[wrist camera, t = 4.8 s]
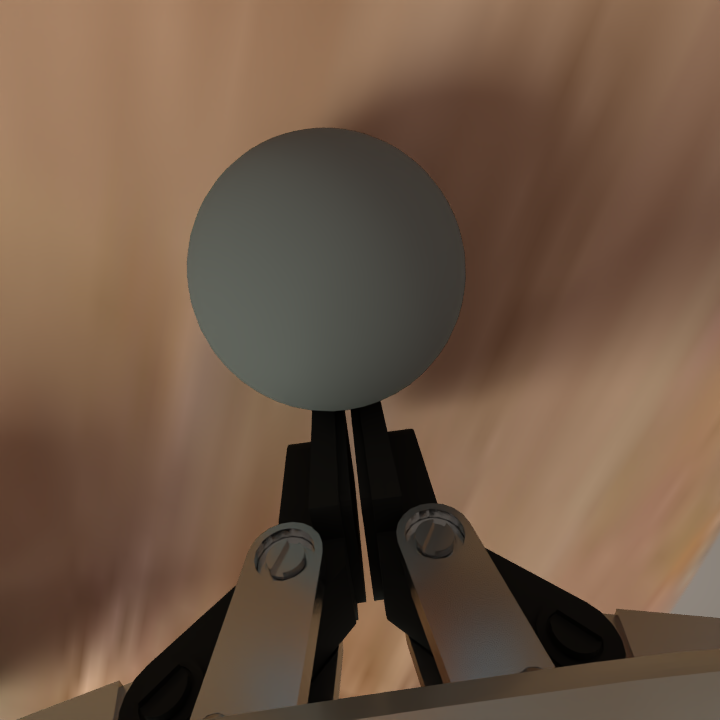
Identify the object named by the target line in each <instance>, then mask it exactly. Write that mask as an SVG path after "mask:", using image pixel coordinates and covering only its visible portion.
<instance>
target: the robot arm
mask: <svg viewBox="0 0 720 720" xmlns="http://www.w3.org/2000/svg"><path fill="white" fill-rule="evenodd" d="M351 418H352V427H353V437H354V446H355V455H356V464H357V474H358V483H359V492H360V500H361V508H362V516H363V523H364V530H365V538H366V545H367V552H368V559H369V567H370V574H371V581H372V588H373V596H374V601H376V600H383V599H384V603H385V611H386V616H387V619H388V620H389V621H390V622H392V623H393V624H394V625H396V626H397V627H398V628H399V629H401V630H402V631H403V632H405V635H406V641H407V645H408V648H409V651H410V654H411V657H412V660H413V663H414V667H415V670H416V673H417V676H418V679H419V682H420V685H421V687H418V688H411V689H404V690H398V691H391V692H384V693H377V694H370V695H364V696H357V697H350V698H343V699H339V691H340V681H341V670H342V660H343V639H344V638H345V637H346V636H347V634H348V633H349V632H350V631H351V629H352V628H353V627H354V626H355V624H356V620H358V608H357V603H362V602H366V592H365V582H364V572H363V561H362V551H361V541H360V531H359V520H358V510H357V500H356V489H355V480H354V472H353V465H352V458H351V451H350V444H349V437H348V430H347V423H346V416H345V410H340V411H317V410H312V430H311V442H307V443H299V444H292V445H288V447H287V454H286V462H285V471H284V480H283V489H282V498H281V506H280V515H279V524H278V525H277V526H274V527H272V528H270V529H268V530H267V531H265V532H264V533H262V534H261V535H260V536H259V537H258V538H257V539H256V540H255V541H254V542H253V544H252V546H251V548H250V549H249V551H248V553H247V556H246V559H245V562H244V565H243V568H242V571H241V573H240V576H239V579H238V582H237V585H236V586H235V587H234V588H233V589H231V590H230V591H229V592H228V593H227V594H226V595H225V596H224V597H223V598H221V599H220V600H219V601H218V602H217V603H216V604H215V605H214V606H213V607H212V608H210V609H209V610H208V611H207V612H206V613H205V614H204V615H203V616H202V617H200V618H199V619H198V620H197V621H196V622H195V623H194V624H193V625H192V626H191V627H189V628H188V629H187V630H186V631H185V632H184V633H183V634H182V635H181V636H180V637H178V638H177V639H176V640H175V641H174V642H173V643H172V644H171V645H170V646H168V647H167V648H166V649H165V650H164V651H163V652H162V653H161V654H160V655H159V656H157V657H156V658H155V659H154V660H153V661H152V662H151V663H150V664H149V665H147V666H146V668H145V669H144V670H143V671H142V672H141V673H140V674H139V675H138V676H137V677H136V679H135V680H134V681H133V682H131V683H129V684H126V685H124V686H123V685H122V684H121V682H120V681H117V682H114V683H111V684H109V685H106V686H104V687H101V688H98V689H96V690H93V691H90V692H88V693H85V694H83V695H80V696H77V697H75V698H72V699H70V700H67V701H64V702H62V703H59V704H56V705H54V706H51V707H49V708H46V709H43V710H41V711H38V712H36V713H33V714H30V715H28V716H25V717H22V718H20V719H17V720H720V618H713V617H702V616H690V615H680V614H669V613H658V612H647V611H636V610H624V609H616V612H615V615H613V614H602V613H601V612H600V611H599V610H597V609H596V608H594V607H593V606H591V605H590V604H588V603H587V602H585V601H583V600H581V599H579V598H578V597H576V596H574V595H572V594H570V593H568V592H566V591H565V590H563V589H561V588H559V587H557V586H555V585H553V584H551V583H550V582H548V581H546V580H544V579H542V578H540V577H538V576H537V575H535V574H533V573H531V572H529V571H527V570H525V569H524V568H522V567H520V566H518V565H516V564H514V563H512V562H510V561H509V560H507V559H505V558H503V557H501V556H499V555H497V554H496V553H494V552H492V551H490V550H488V549H486V548H485V547H484V546H483V544H482V542H481V541H480V539H479V537H478V536H477V534H476V532H475V530H474V529H473V527H472V525H471V524H470V522H469V521H468V520H467V519H466V517H465V516H464V515H463V514H462V513H460V512H459V511H457V510H456V509H454V508H452V507H449V506H447V505H444V504H437V501H436V498H435V495H434V492H433V488H432V485H431V482H430V479H429V476H428V473H427V470H426V467H425V463H424V460H423V457H422V454H421V451H420V448H419V445H418V442H417V438H416V435H415V432H414V430H413V429H405V430H398V431H390V432H387V428H386V423H385V419H384V414H383V410H382V406H381V401H379V402H376V403H373V404H370V405H367V406H364V407H360V408H355V409H351Z"/></svg>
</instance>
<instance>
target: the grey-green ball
mask: <svg viewBox="0 0 720 720" xmlns="http://www.w3.org/2000/svg"><path fill="white" fill-rule="evenodd" d="M187 278H188V288H189V293H190V299H191V303H192V306H193V309H194V313H195V315H196V318H197V321H198V324H199V326H200V329H201V331H202V332H203V334H204V336H205V338H206V339H207V341H208V343H209V344H210V346H211V348H212V349H213V351H214V352H215V354H216V355H217V356H218V357H219V359H220V360H221V361H222V362H223V364H224V365H225V366H226V367H227V368H228V369H229V370H230V371H231V372H232V373H233V374H235V375H236V376H237V377H238V378H239V379H240V380H241V381H242V382H244V383H245V384H247V385H248V386H250V387H251V388H253V389H254V390H256V391H257V392H259V393H261V394H263V395H265V396H267V397H269V398H271V399H273V400H275V401H277V402H280V403H283V404H286V405H289V406H292V407H297V408H302V409H308V410H317V411H340V410H350V409H355V408H360V407H364V406H367V405H370V404H373V403H376V402H379V401H381V400H383V399H385V398H387V397H389V396H391V395H393V394H396V393H397V392H399V391H400V390H402V389H403V388H405V387H407V386H408V385H410V384H411V383H412V382H413V381H414V380H416V379H417V378H418V377H419V376H420V375H421V374H423V373H424V371H425V370H426V369H427V368H428V367H429V366H430V365H431V364H432V362H433V361H434V360H435V359H436V358H437V357H438V355H439V354H440V352H441V351H442V349H443V348H444V346H445V345H446V343H447V341H448V339H449V337H450V335H451V333H452V331H453V328H454V326H455V324H456V322H457V319H458V316H459V313H460V309H461V306H462V301H463V295H464V288H465V279H466V276H465V253H464V248H463V243H462V238H461V234H460V231H459V227H458V224H457V221H456V219H455V216H454V214H453V212H452V210H451V208H450V206H449V204H448V202H447V200H446V198H445V196H444V195H443V193H442V191H441V190H440V189H439V187H438V186H437V185H436V184H435V182H434V181H433V180H432V179H431V177H430V176H429V175H428V174H427V173H426V171H425V170H424V169H423V168H421V167H420V166H419V165H418V164H417V163H416V162H415V161H414V160H412V159H411V158H410V157H408V156H407V155H406V154H404V153H403V152H402V151H400V150H399V149H397V148H396V147H394V146H392V145H390V144H388V143H386V142H384V141H382V140H379V139H377V138H374V137H372V136H369V135H367V134H363V133H360V132H356V131H352V130H346V129H338V128H312V129H304V130H298V131H293V132H289V133H285V134H282V135H279V136H276V137H274V138H271V139H269V140H267V141H264V142H262V143H260V144H259V145H257V146H255V147H253V148H252V149H250V150H249V151H247V152H246V153H245V154H243V155H242V156H241V157H240V158H238V159H237V160H236V161H235V162H234V163H233V164H232V165H230V166H229V167H228V168H227V169H226V170H225V171H224V172H223V173H222V175H221V176H220V177H219V178H218V179H217V181H216V182H215V184H214V185H213V187H212V188H211V190H210V191H209V193H208V194H207V196H206V197H205V199H204V201H203V203H202V205H201V207H200V209H199V211H198V214H197V217H196V220H195V223H194V226H193V229H192V232H191V235H190V242H189V248H188V257H187Z"/></svg>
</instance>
